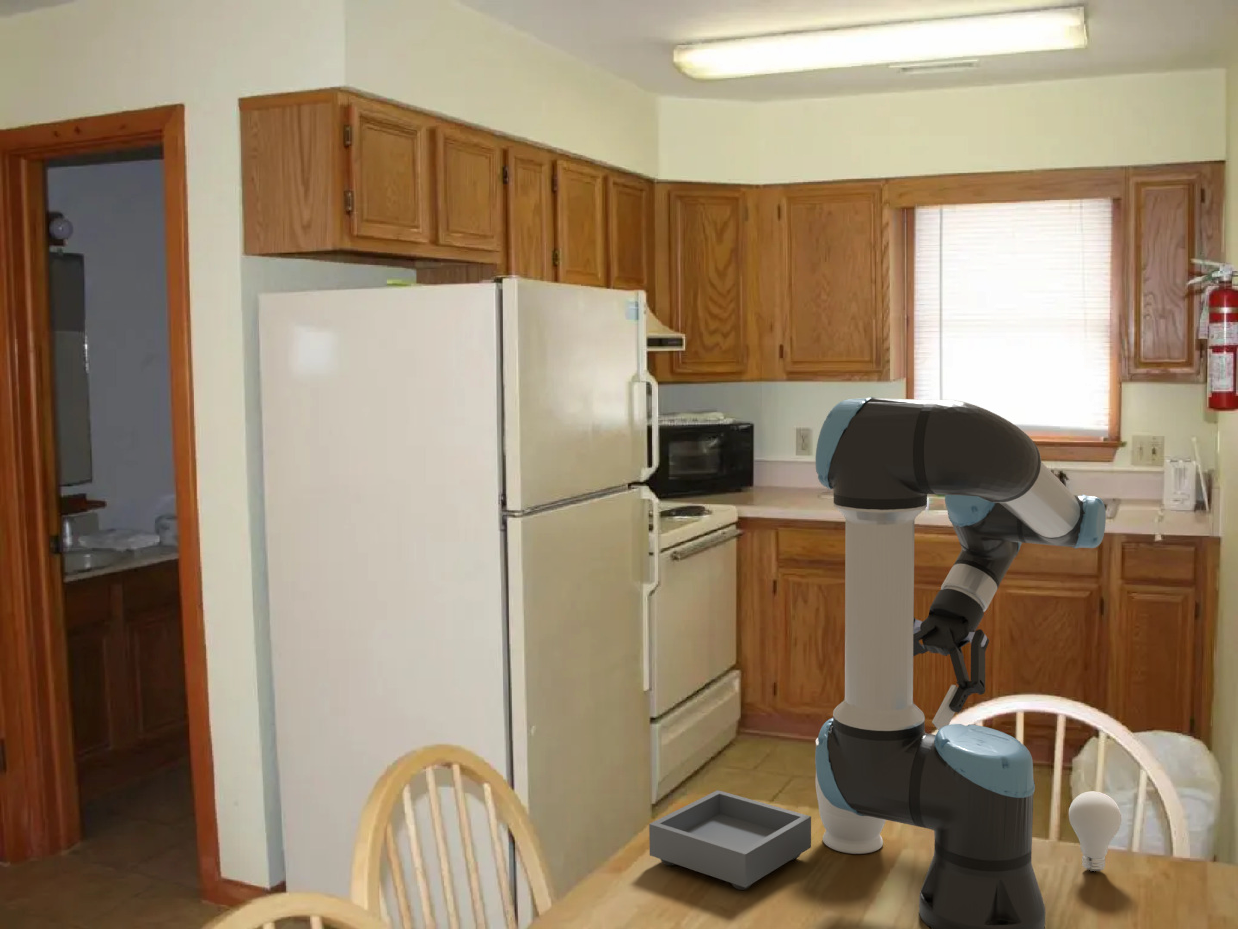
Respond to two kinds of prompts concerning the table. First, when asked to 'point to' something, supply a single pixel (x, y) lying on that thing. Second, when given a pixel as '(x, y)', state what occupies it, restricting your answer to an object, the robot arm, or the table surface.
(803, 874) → the table surface
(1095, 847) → the light bulb
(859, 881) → the table surface
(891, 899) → the table surface
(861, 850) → the jar
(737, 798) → the footed square tray
